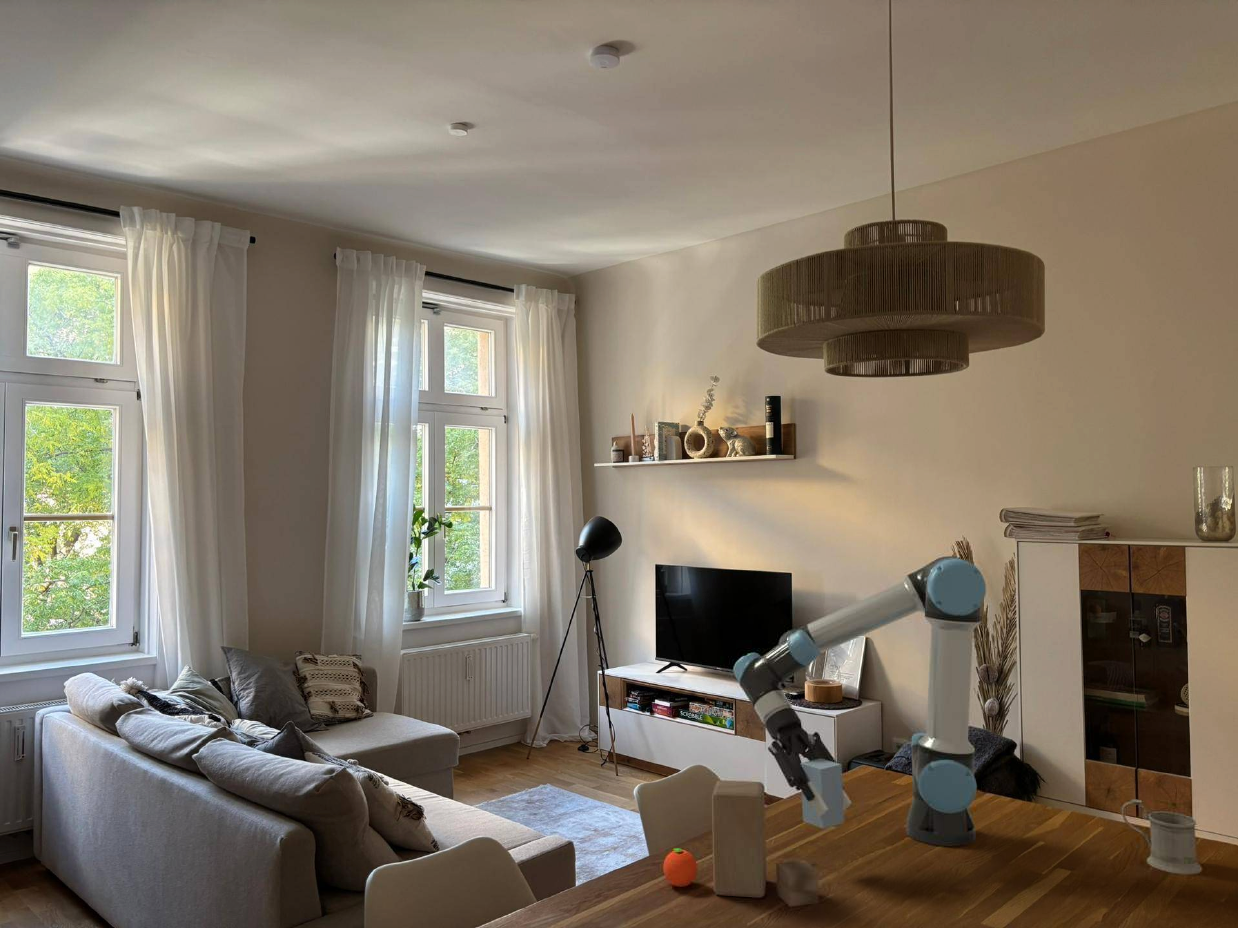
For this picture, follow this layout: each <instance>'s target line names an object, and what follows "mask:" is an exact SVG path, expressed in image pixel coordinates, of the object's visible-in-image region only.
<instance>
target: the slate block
mask: <svg viewBox="0 0 1238 928" xmlns="http://www.w3.org/2000/svg"><path fill="white" fill-rule="evenodd" d="M800 764H801V766H802V768H803V769H804V772H805V775H806V778H807V783H808V782H809V781H811V782H812V783H813V785H814V786H815V788H816V790H817V791H818V793H819V795H820V796H821V798H822V800H823V801H824V803H825V804H826V806H827V808H828V810H827V811H826V812H825V813H824V814H823V815H822V816H821V817H819V815H818V814H817V812H816V810H815V809H814V807H813V805H812V804H811V802H810V801H808V800H807V799H806V797H805V796H804V794H803V792H802V791H801V807H802V822H804V823H807V824H810V825H812V826H815V827H817V828H821V829H827V828H831V827H835V826H837V825H841V824H845V813H844V811H845V810H844V807H843V787H844V785H843V768H842V766H843V765H842V764H841V763H838V762H837V763H835V762H831V761H828V760H824V759H817V760H812V761H809V760H807V761H805V762H802V763H800Z"/></svg>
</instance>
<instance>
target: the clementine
mask: <svg viewBox="0 0 1238 928" xmlns="http://www.w3.org/2000/svg"><path fill="white" fill-rule="evenodd" d="M662 866H663V867H662V868H663V875H664V877H665V879H666V880H667V881H668V883H669V884H671V885H673V886H674V887H679V888H680V887H682V888H683V887H687V886H689V885H690V884H692V883H693V881H694V880H695V878H696V877H697V873H698V866H697V861H696V858H695V857H694V856H693V855H692V853H690V852H689V851H687V850H685V849H681V848H678V847H677V848H672V849H671V851H670V852H669V853H668V854H667V855H666V856H665V859H664V861H663V865H662Z"/></svg>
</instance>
